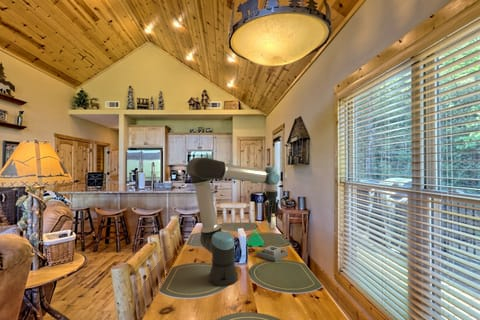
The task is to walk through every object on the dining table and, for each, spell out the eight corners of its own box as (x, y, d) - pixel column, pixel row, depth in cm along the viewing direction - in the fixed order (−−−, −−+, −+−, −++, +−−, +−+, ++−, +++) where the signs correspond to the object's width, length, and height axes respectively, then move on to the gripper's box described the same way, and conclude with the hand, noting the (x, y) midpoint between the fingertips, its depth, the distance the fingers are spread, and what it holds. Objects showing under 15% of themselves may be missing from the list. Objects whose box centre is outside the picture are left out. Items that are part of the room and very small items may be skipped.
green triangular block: (263, 243, 191) (263, 229, 191) (263, 246, 184) (263, 232, 184) (247, 243, 191) (246, 229, 191) (247, 247, 184) (247, 232, 184)
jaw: (272, 230, 163) (272, 214, 163) (268, 229, 165) (268, 214, 165) (276, 229, 165) (275, 213, 165) (271, 228, 168) (271, 213, 168)
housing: (275, 262, 156) (275, 254, 156) (257, 256, 165) (257, 248, 165) (287, 255, 166) (287, 247, 166) (269, 250, 175) (269, 243, 175)
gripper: (268, 192, 157) (269, 230, 157) (283, 189, 169) (284, 225, 169) (259, 191, 162) (259, 228, 162) (274, 189, 174) (274, 223, 174)
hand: (272, 226), depth 165 cm, fingers closed on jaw, 3 cm apart
